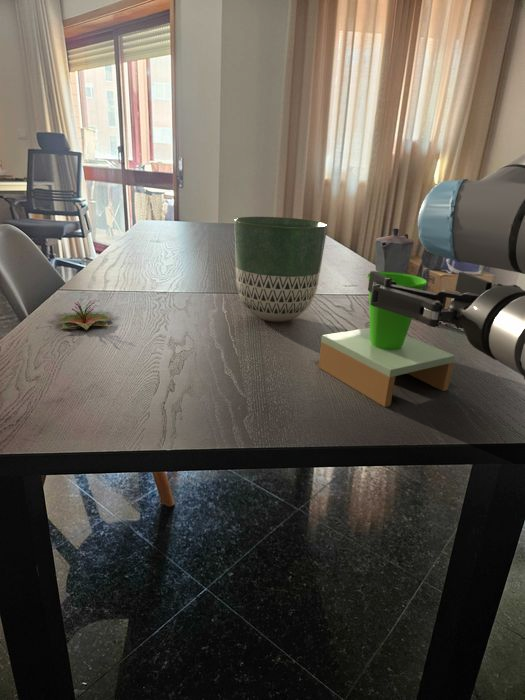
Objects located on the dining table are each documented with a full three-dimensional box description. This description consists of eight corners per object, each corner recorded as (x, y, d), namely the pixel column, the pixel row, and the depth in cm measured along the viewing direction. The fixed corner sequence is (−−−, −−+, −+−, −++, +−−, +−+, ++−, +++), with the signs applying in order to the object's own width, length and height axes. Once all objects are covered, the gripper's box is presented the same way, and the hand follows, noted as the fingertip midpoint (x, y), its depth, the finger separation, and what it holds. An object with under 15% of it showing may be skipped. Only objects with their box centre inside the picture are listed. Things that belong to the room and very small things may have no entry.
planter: (313, 337, 96) (324, 230, 88) (221, 326, 99) (224, 222, 91) (320, 311, 114) (329, 220, 106) (242, 303, 117) (245, 214, 109)
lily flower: (54, 316, 99) (51, 295, 97) (113, 313, 103) (112, 293, 101) (51, 335, 88) (49, 312, 87) (117, 331, 93) (116, 309, 91)
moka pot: (356, 309, 118) (367, 227, 110) (379, 298, 130) (390, 224, 122) (393, 317, 113) (407, 232, 106) (413, 305, 125) (427, 228, 118)
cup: (398, 359, 70) (410, 287, 66) (347, 343, 76) (355, 276, 72) (424, 346, 76) (437, 279, 72) (375, 331, 82) (384, 269, 78)
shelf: (447, 390, 75) (455, 355, 73) (384, 407, 68) (391, 369, 66) (377, 355, 88) (382, 325, 86) (318, 367, 81) (321, 334, 79)
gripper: (398, 367, 46) (330, 306, 66) (610, 360, 51) (488, 306, 70) (411, 293, 43) (335, 253, 63) (633, 293, 48) (499, 256, 68)
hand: (416, 281), depth 67 cm, fingers open, 13 cm apart
